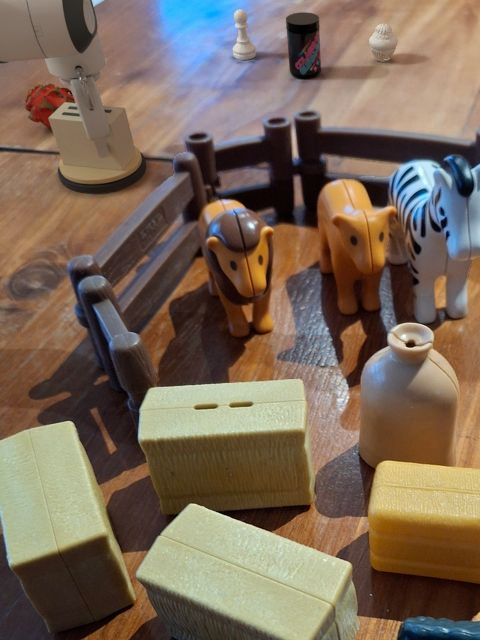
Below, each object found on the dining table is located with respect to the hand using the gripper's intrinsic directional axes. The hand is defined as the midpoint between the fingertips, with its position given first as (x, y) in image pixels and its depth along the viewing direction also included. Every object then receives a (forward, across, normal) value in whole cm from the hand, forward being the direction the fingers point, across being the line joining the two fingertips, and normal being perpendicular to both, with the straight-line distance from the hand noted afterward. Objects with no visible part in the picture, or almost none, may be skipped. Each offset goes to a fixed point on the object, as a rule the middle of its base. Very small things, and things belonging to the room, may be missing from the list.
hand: (99, 142), depth 124 cm
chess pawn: (+5, +39, -37) cm, 54 cm away
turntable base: (+5, 0, +1) cm, 5 cm away
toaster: (+4, 0, +1) cm, 4 cm away
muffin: (+6, +26, -64) cm, 69 cm away
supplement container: (+6, +25, -46) cm, 53 cm away
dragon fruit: (+5, +20, +5) cm, 22 cm away
